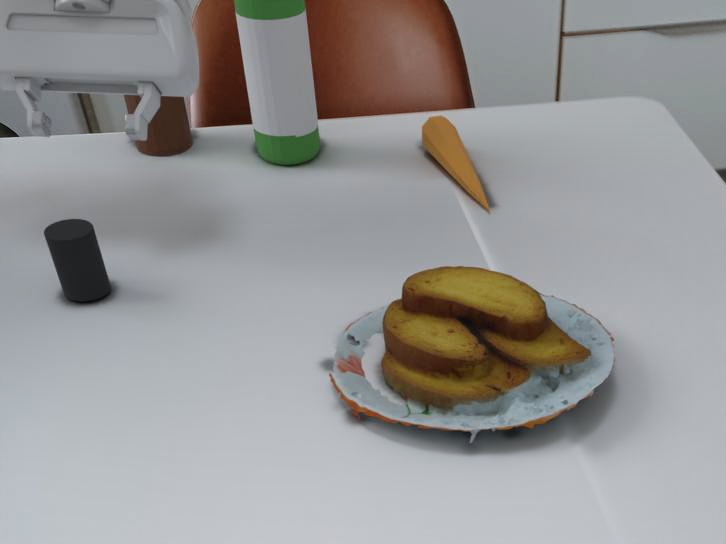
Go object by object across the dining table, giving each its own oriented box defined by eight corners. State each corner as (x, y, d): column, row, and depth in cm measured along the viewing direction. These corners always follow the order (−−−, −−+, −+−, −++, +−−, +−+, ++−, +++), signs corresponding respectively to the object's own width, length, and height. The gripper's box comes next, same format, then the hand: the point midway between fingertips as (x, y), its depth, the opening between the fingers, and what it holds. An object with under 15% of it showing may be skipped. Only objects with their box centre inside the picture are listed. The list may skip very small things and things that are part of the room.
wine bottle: (256, 144, 120) (209, -165, 98) (319, 140, 121) (285, -167, 99) (258, 169, 115) (208, -151, 93) (323, 165, 116) (289, -153, 94)
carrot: (424, 153, 121) (411, 121, 117) (456, 135, 120) (443, 102, 116) (479, 238, 110) (466, 205, 106) (514, 218, 109) (502, 185, 105)
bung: (66, 315, 92) (41, 242, 87) (69, 292, 95) (45, 220, 90) (113, 310, 93) (92, 237, 88) (115, 288, 96) (94, 216, 90)
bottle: (136, 158, 117) (99, 6, 105) (137, 136, 122) (101, -12, 110) (193, 153, 118) (162, 2, 106) (192, 132, 123) (162, -15, 111)
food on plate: (337, 472, 77) (328, 402, 72) (324, 314, 93) (316, 248, 88) (646, 445, 79) (658, 375, 74) (581, 296, 96) (586, 231, 91)
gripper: (-35, -40, 88) (-39, 115, 89) (185, -33, 87) (179, 123, 88) (2, 2, 94) (-2, 147, 95) (207, 9, 93) (202, 154, 94)
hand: (87, 136), depth 91 cm, fingers open, 8 cm apart
